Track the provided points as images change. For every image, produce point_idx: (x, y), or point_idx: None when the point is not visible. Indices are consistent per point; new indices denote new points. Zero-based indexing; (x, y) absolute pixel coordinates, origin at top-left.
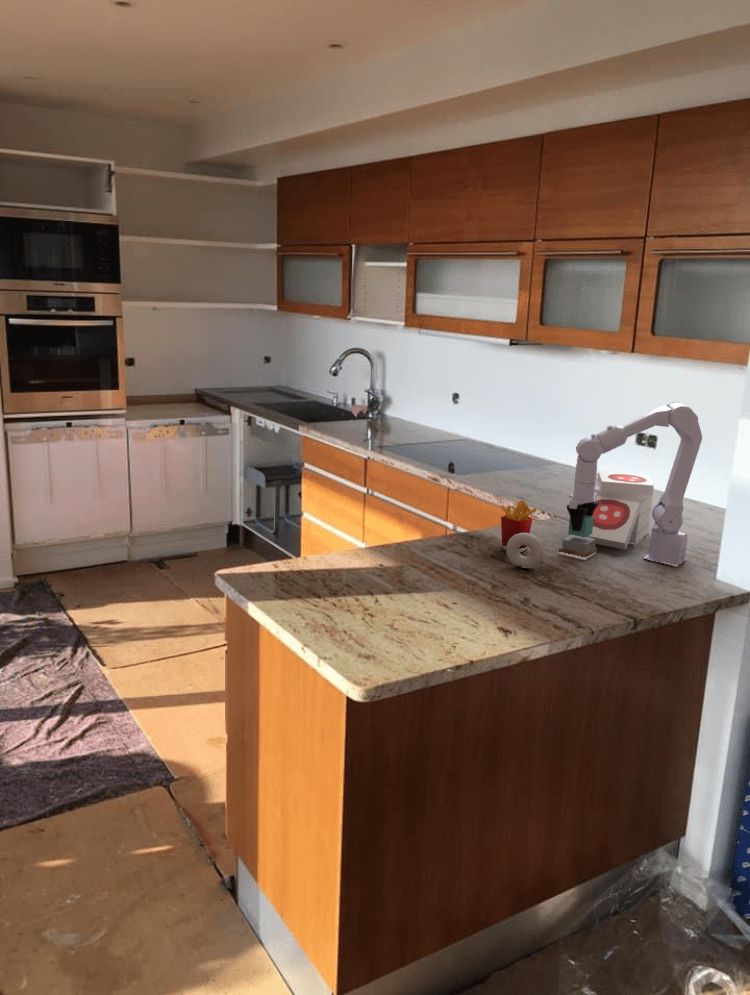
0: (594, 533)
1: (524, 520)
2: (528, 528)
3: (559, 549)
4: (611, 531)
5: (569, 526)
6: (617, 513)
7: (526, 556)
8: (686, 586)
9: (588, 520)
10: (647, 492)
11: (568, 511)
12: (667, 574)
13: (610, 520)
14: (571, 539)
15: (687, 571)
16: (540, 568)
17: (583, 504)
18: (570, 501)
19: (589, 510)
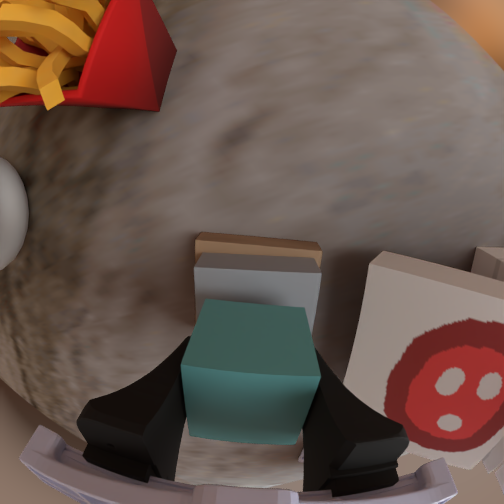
0: (370, 347)
1: (22, 102)
2: (98, 102)
3: (195, 241)
4: (377, 400)
5: (196, 325)
6: (452, 424)
7: (3, 211)
8: (200, 469)
9: (216, 435)
10: (502, 474)
11: (108, 395)
12: (242, 456)
13: (426, 403)
14: (224, 299)
15: (286, 468)
16: (49, 237)
17: (324, 462)
18: (22, 461)
19: (309, 455)
